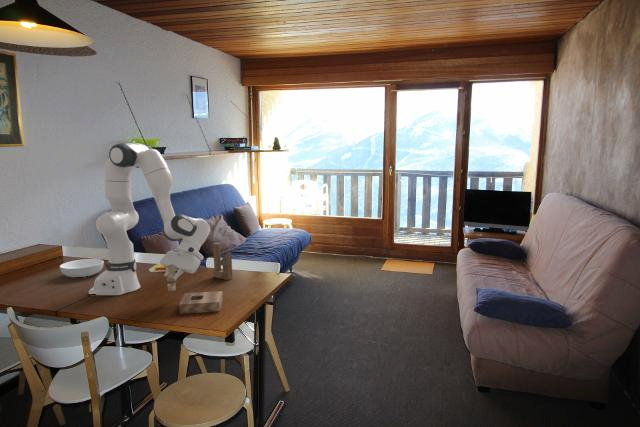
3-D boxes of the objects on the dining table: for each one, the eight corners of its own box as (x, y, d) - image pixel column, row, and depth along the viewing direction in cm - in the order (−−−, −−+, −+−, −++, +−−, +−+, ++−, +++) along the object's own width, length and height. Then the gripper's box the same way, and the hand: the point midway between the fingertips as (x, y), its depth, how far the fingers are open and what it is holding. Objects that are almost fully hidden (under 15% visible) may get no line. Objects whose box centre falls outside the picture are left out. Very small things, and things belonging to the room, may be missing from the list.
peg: (166, 292, 189) (164, 267, 188) (168, 289, 193) (166, 265, 192) (175, 291, 190) (174, 267, 188) (177, 288, 194) (176, 264, 192)
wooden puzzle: (162, 264, 258) (162, 258, 258) (193, 265, 256) (193, 259, 256) (148, 273, 241) (147, 267, 241) (180, 273, 239) (180, 267, 239)
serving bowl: (99, 279, 230) (98, 266, 229) (55, 283, 225) (53, 270, 224) (108, 268, 250) (107, 257, 249) (67, 272, 245) (66, 260, 244)
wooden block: (227, 280, 224) (226, 245, 221) (212, 277, 229) (211, 243, 227) (232, 278, 227) (231, 244, 224) (218, 275, 232) (216, 242, 230)
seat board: (179, 313, 179) (179, 304, 179) (185, 301, 193) (185, 293, 192) (219, 311, 181) (219, 302, 181) (222, 299, 195) (222, 291, 194)
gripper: (167, 244, 200) (150, 270, 194) (198, 250, 189) (181, 277, 183) (175, 252, 205) (159, 277, 198) (206, 258, 194) (190, 285, 187)
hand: (169, 277), depth 190 cm, fingers closed on peg, 4 cm apart
